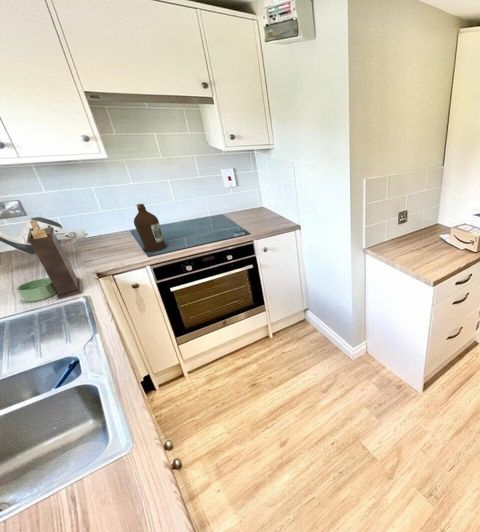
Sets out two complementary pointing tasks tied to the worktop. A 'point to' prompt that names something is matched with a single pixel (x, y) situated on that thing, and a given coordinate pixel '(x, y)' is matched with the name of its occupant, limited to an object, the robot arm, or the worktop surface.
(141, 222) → the olive oil
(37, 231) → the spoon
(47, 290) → the bowl
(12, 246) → the robot arm
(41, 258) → the dark wood pillar
